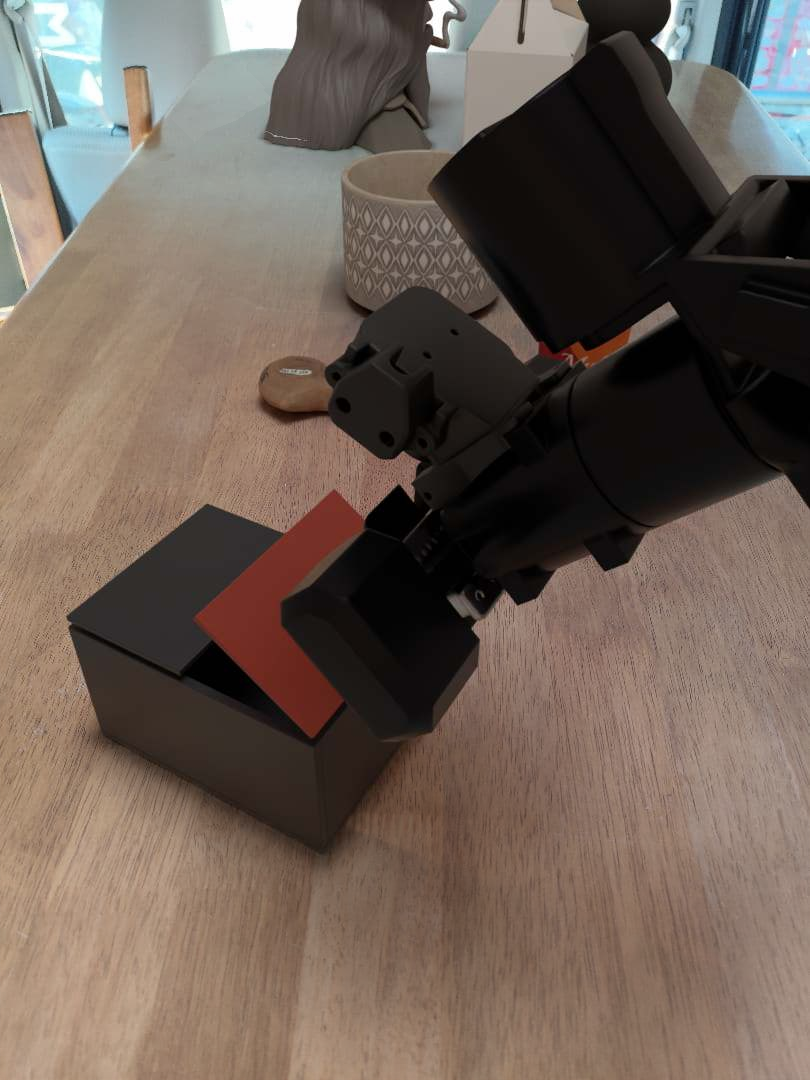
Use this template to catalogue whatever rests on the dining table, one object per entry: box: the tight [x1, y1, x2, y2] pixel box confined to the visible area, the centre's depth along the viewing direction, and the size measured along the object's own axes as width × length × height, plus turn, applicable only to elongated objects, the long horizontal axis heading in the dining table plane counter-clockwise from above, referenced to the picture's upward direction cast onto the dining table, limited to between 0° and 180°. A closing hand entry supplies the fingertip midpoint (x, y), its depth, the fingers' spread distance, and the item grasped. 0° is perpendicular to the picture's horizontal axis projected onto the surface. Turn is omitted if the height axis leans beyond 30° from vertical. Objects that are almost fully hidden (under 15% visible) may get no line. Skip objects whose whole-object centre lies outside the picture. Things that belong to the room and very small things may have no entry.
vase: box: [577, 0, 673, 98], centre depth 138 cm, size 18×18×35 cm
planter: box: [340, 149, 500, 315], centre depth 92 cm, size 16×16×13 cm
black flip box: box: [65, 503, 406, 855], centre depth 49 cm, size 15×11×9 cm
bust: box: [263, 0, 468, 154], centre depth 136 cm, size 34×34×35 cm
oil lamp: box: [257, 355, 333, 413], centre depth 78 cm, size 9×4×8 cm
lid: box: [193, 488, 365, 738], centre depth 43 cm, size 7×11×1 cm
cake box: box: [461, 0, 589, 148], centre depth 121 cm, size 22×13×28 cm, turn 166°
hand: (354, 583), depth 41 cm, fingers closed
